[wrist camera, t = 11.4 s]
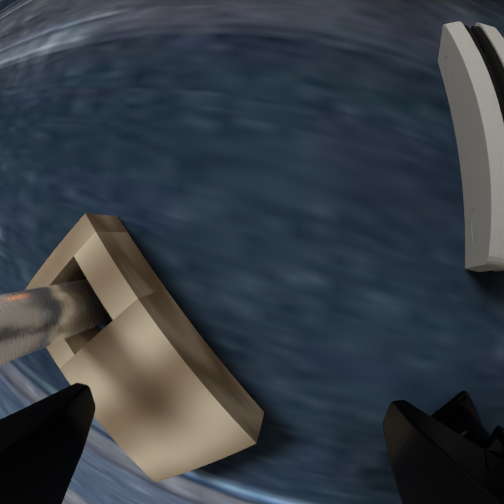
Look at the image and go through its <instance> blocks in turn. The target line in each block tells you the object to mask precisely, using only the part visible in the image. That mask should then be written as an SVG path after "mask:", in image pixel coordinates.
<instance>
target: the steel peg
mask: <svg viewBox="0 0 504 504" xmlns="http://www.w3.org/2000/svg"><path fill="white" fill-rule="evenodd" d="M110 320H112V318H111V316H110V315H109V313H108V312H107V310H106V309H105V307H104V306H103V304H102V302H101V301H100V299H99V298H98V296H97V295H96V293H95V291H94V290H93V288H92V286H91V285H90V283H89V281H88V280H87V279H83V280H77V281H72V282H66V283H61V284H55V285H50V286H45V287H39V288H34V289H28V290H23V291H18V292H12V293H7V294H2V295H0V365H1V364H4V363H6V362H9V361H11V360H14V359H16V358H19V357H21V356H24V355H26V354H29V353H31V352H34V351H36V350H39V349H41V348H44V347H46V346H49V345H51V344H54V343H56V342H58V341H61V340H63V339H66V338H68V337H71V336H73V335H76V334H78V333H81V332H83V331H85V330H88V329H90V328H93V327H95V326H98V325H100V324H103V323H105V322H107V321H110Z"/></svg>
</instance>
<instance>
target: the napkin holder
mask: <svg viewBox="0 0 504 504" xmlns="http://www.w3.org/2000/svg"><path fill="white" fill-rule="evenodd" d="M438 64H439V67H440V71H441V74H442V78H443V81H444V85H445V89H446V93H447V97H448V101H449V105H450V110H451V114H452V119H453V124H454V129H455V135H456V140H457V147H458V153H459V160H460V168H461V177H462V186H463V198H464V214H465V269H468V270H472V271H476V272H484V271H493V270H494V272H499V271H504V39H503V37H502V36H501V35H500V33H499V32H498V31H497V29H496V28H494V27H491V26H488V25H485V24H481V23H476V24H475V26H472V27H471V29H470V28H469V27H468V26H466V25H463V24H462V23H461V22H460V21H458V22H453V23H448V24H444V25H443V29H442V36H441V43H440V50H439V56H438Z"/></svg>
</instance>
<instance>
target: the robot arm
mask: <svg viewBox="0 0 504 504" xmlns="http://www.w3.org/2000/svg"><path fill="white" fill-rule="evenodd" d="M463 396H464V397H463ZM462 397H463V398H462ZM95 409H96V407H95V402H94V399H93V396H92V392H91V389H90V387H89V386H88V385H86V384H82V383H75V384H73V385H71V386H69V387H67V388H65V389H63V390H61V391H59V392H57V393H55V394H52V395H50V396H48V397H46V398H44V399H42V400H40V401H38V402H36V403H34V404H32V405H30V406H28V407H26V408H24V409H22V410H19V411H17V412H15V413H13V414H11V415H9V416H7V417H4V418H2V419H0V504H62V501H63V499H64V496H65V494H66V491H67V489H68V486H69V483H70V481H71V478H72V476H73V474H74V471H75V469H76V466H77V464H78V462H79V459H80V457H81V454H82V452H83V449H84V446H85V443H86V440H87V436H88V433H89V430H90V426H91V423H92V420H93V417H94V414H95ZM383 428H384V433H385V438H386V443H387V448H388V453H389V459H390V463H391V467H392V471H393V474H394V477H395V481H396V484H397V487H398V490H399V494H400V497H401V500H402V504H504V428H503V427H501V426H499V425H498V426H497V427H496V428H495V429H494V431H493V434H492V435H490V434H489V433H488V432H487V430H486V429H485V428H484V427H483V425H482V423H481V421H480V418H479V416H478V414H477V411H476V409H475V407H474V405H473V403H472V400H471V398H470V396H469V394H468V393H467V392H466V391H462V392H460V393H459V394H458V395H457V396H455V397H454V398H453V399H452V400H451V401H449V402H448V403H447V404H446V405H444V406H443V407H442V408H440V409H439V410H438V411H437V412H435V413H434V414H433V415H431V416H429V415H428V414H426V413H424V412H423V411H421V410H420V409H418V408H417V407H415V406H413V405H412V404H410V403H409V402H407V401H405V400H398V401H393V402H391V404H390V406H389V408H388V411H387V413H386V416H385V418H384V421H383Z"/></svg>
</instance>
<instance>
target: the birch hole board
mask: <svg viewBox="0 0 504 504" xmlns="http://www.w3.org/2000/svg"><path fill="white" fill-rule="evenodd" d="M85 276H86V278H87V280H88V281H89V283H90V285H91V286H92V288H93V290H94V291H95V293H96V295H97V296H98V298H99V299H100V301H101V302H102V304H103V306H104V307H105V309H106V310H107V312H108V313H109V315H110V316H111V318H112V319H113V321H111V322H110V323H109V324H108V325H107V326H106V327H105V328H104V329H102V330H101V331H100V332H99V331H98V330H97V328H96V327H93V328H90V329H88V330H85V331H83V332H81V333H78V334H76V335H73V336H71V337H68V338H66V339H63V340H61V341H58V342H56V343H54V344H51V345H49V346H46V347H47V349H48V351H49V352H50V354H51V356H52V357H53V359H54V360H55V362H56V364H57V365H58V367H59V368H60V370H61V371H62V373H63V374H64V376H65V377H66V379H67V380H68V382H69V383H70V385H73V384H75V383H82V384H86V385H88V386H89V387H90V389H91V392H92V396H93V399H94V402H95V407H96V409H95V414H94V417H95V418H96V419H97V420H98V422H99V423H100V424H101V425H102V427H103V428H104V429H105V430H106V431H107V433H108V434H109V435H110V436H111V437H112V438H113V439H114V441H115V442H116V443H117V444H118V445H119V446H120V447H121V448H122V449H123V451H124V452H125V453H126V454H127V455H128V456H129V457H130V458H131V459H132V460H133V461H134V462H135V463H136V464H137V465H138V466H139V467H140V468H141V469H142V470H143V471H144V472H145V473H146V474H147V475H148V476H149V477H150V478H151V479H152V480H153V481H154V482H158V481H161V480H165V479H168V478H171V477H174V476H177V475H180V474H183V473H186V472H188V471H191V470H194V469H197V468H199V467H202V466H205V465H207V464H210V463H212V462H215V461H217V460H220V459H222V458H225V457H227V456H229V455H232V454H234V453H236V452H239V451H241V450H243V449H245V448H248V447H250V446H252V445H254V444H256V443H257V440H258V436H259V432H260V428H261V424H262V420H263V415H264V411H263V410H262V409H261V408H260V407H259V406H258V404H257V403H256V402H255V401H254V400H253V399H252V398H251V396H250V395H249V394H248V393H247V392H246V391H245V389H244V388H243V387H242V386H241V385H240V384H239V382H238V381H237V380H236V379H235V378H234V376H233V375H232V374H231V373H230V372H229V370H228V369H227V368H226V367H225V366H224V364H223V363H222V362H221V361H220V359H219V358H218V357H217V356H216V354H215V353H214V352H213V351H212V349H211V348H210V347H209V346H208V344H207V343H206V342H205V341H204V339H203V338H202V337H201V335H200V334H199V333H198V332H197V330H196V329H195V328H194V326H193V325H192V324H191V322H190V321H189V320H188V318H187V317H186V316H185V314H184V313H183V312H182V310H181V309H180V308H179V306H178V305H177V304H176V302H175V301H174V299H173V298H172V297H171V295H170V294H169V292H168V291H167V290H166V288H165V287H164V285H163V284H162V283H161V281H160V280H159V278H158V277H157V275H156V274H155V273H154V271H153V270H152V268H151V267H150V265H149V264H148V262H147V261H146V259H145V258H144V256H143V255H142V253H141V252H140V250H139V249H138V247H137V246H136V244H135V243H134V241H133V240H132V238H131V237H130V235H129V233H128V232H127V230H126V229H125V227H124V226H123V224H122V222H121V221H120V219H119V218H118V217H115V216H105V215H95V214H85V215H84V216H83V217H82V218H81V219H80V220H79V221H78V223H77V224H76V225H75V226H74V227H73V228H72V230H71V231H70V232H69V233H68V234H67V235H66V237H65V238H64V239H63V240H62V242H61V243H60V244H59V245H58V246H57V248H56V249H55V250H54V251H53V253H52V254H51V255H50V257H49V258H48V259H47V260H46V262H45V263H44V264H43V266H42V267H41V268H40V270H39V271H38V272H37V274H36V275H35V277H34V278H33V279H32V281H31V282H30V283H29V285H28V286H27V288H26V289H25V290H28V289H34V288H39V287H45V286H50V285H55V284H61V283H66V282H72V281H77V280H82V279H83V278H84V277H85Z"/></svg>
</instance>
